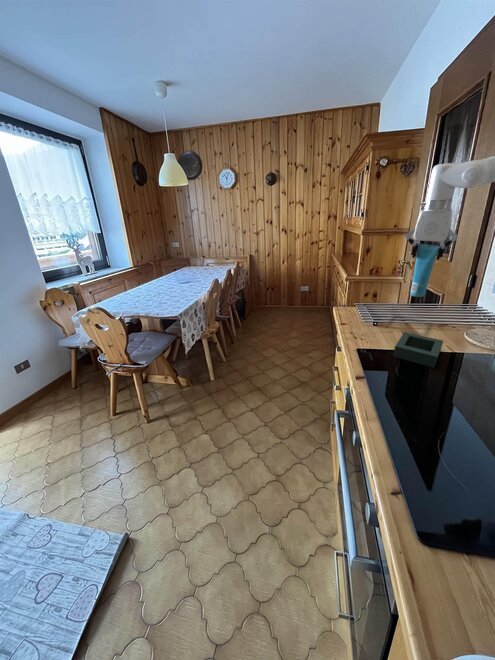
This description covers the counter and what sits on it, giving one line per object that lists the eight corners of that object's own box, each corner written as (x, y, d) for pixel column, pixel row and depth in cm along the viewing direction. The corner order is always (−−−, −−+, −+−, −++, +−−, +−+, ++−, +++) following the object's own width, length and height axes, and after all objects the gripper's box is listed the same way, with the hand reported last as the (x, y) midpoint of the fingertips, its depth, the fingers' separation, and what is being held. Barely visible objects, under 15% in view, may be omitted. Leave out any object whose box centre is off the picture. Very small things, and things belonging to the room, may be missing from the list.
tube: (429, 295, 109) (442, 244, 100) (424, 299, 106) (437, 246, 97) (409, 291, 114) (420, 242, 105) (404, 294, 111) (414, 244, 102)
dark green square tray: (439, 352, 100) (443, 340, 98) (433, 369, 92) (437, 356, 89) (401, 343, 107) (404, 331, 105) (392, 358, 99) (395, 346, 96)
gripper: (406, 206, 98) (397, 258, 106) (468, 206, 88) (452, 263, 96) (411, 204, 103) (402, 254, 111) (470, 204, 93) (455, 258, 101)
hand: (425, 257), depth 103 cm, fingers closed on tube, 7 cm apart
